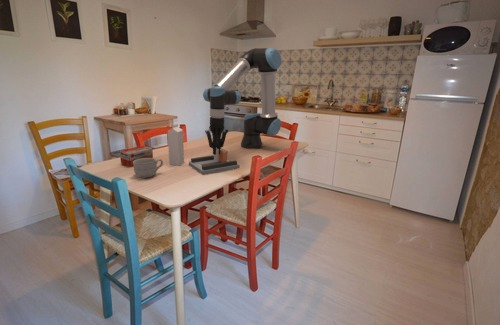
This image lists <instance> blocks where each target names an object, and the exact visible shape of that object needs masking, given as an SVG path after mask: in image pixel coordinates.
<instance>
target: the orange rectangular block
mask: <svg viewBox="0 0 500 325" xmlns="http://www.w3.org/2000/svg"><path fill="white" fill-rule="evenodd" d="M227 158H228V150H227V149H225V148H223V147H221V149H220V154H218V161H220V162H227Z"/></svg>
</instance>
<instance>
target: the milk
mask: <svg viewBox="0 0 500 325" xmlns="http://www.w3.org/2000/svg"><path fill="white" fill-rule="evenodd" d="M171 127H172V128H170V129H169V130H167V144H168V145H167V146H168V147H167V148H168V163H169V166H174V167H175V166H176V167H180V166H181V165H183V164H184V163H185V153H184V152H185V151H184V147H185V146H184V130H183V129H182V128H180V127H179V124H178V123H177V124H174V125H172V126H171Z"/></svg>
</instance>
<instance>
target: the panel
mask: <svg viewBox="0 0 500 325" xmlns="http://www.w3.org/2000/svg"><path fill="white" fill-rule="evenodd" d="M228 161H232V160H231V159H230V158H228V157H227V162H228ZM215 163H221V162H220V161H216V160H208V161H202V162H195V163H192V162H191V160H190V161H188V166H190V167H191V168H192V169H194V170H195V171H197V173H198V174H200V175H202V176H204V175H211V174H217V173H221V172H223V173H224V172H227V171H234V170H238V169H237V168H240V167H241V165H240V164H239V163H237V165H233V166H227V167H221V168H215V169H209V170H202V166H203V165H209V164H215ZM233 169H234V170H233Z"/></svg>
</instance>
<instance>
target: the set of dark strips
mask: <svg viewBox="0 0 500 325" xmlns="http://www.w3.org/2000/svg"><path fill="white" fill-rule="evenodd" d="M208 160H214V154H211V155H206V156H199V157H191V158H190V161H191V162H192V163H195V162H202V161H208ZM237 164H238V161H237V160H231V161H228V162H221V163H215V164H209V165H203V166H202V170H209V169H215V168H221V167H227V166H233V165H237Z"/></svg>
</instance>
